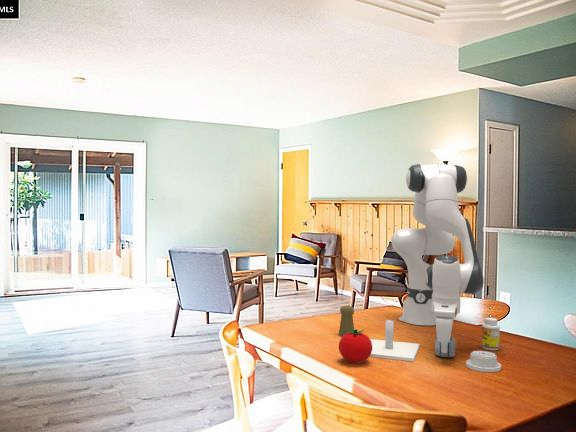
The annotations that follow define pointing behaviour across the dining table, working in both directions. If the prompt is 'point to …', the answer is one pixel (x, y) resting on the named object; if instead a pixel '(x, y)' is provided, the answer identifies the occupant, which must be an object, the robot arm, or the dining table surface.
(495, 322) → the supplement bottle
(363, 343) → the tomato
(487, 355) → the mechanical component
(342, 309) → the olive pepper mill
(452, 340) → the ring
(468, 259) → the robot arm
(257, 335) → the dining table surface
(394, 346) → the post block
